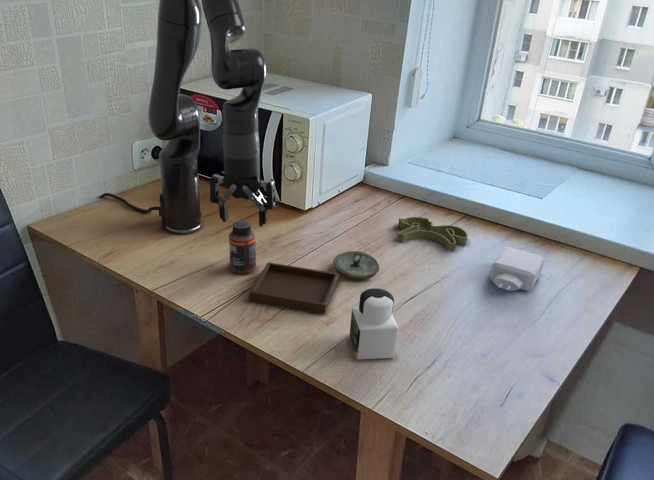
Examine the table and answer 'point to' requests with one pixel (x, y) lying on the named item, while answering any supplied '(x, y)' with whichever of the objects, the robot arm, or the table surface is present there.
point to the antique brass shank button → (356, 265)
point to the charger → (516, 269)
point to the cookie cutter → (431, 232)
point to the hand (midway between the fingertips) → (243, 222)
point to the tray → (294, 288)
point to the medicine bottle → (374, 325)
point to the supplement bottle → (242, 248)
